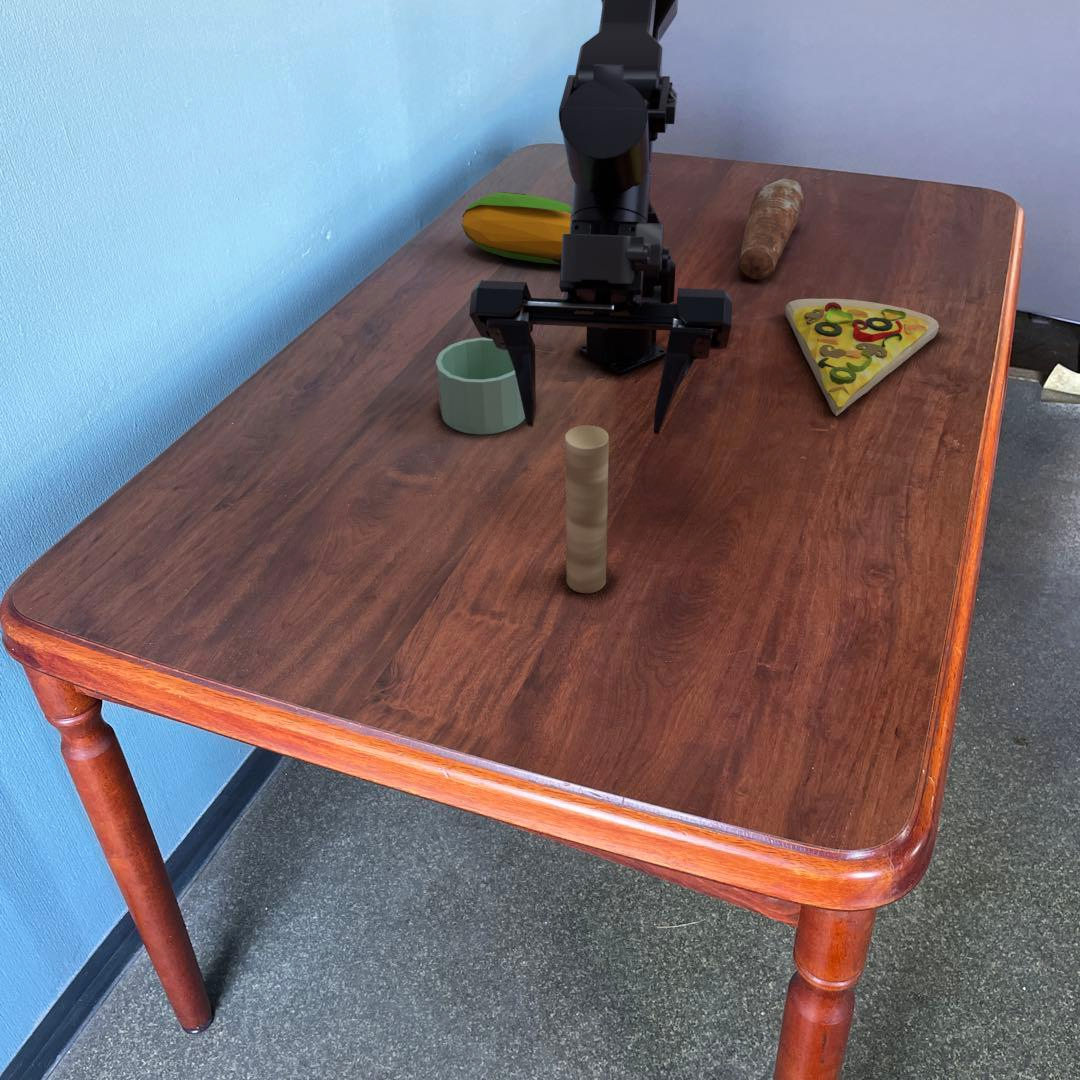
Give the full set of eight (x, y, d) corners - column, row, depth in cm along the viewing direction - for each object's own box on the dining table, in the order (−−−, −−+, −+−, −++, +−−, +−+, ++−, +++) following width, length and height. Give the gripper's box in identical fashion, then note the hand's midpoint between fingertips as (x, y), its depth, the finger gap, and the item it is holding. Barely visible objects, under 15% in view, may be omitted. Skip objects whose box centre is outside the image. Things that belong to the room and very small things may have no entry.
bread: (803, 223, 134) (809, 179, 131) (775, 287, 120) (781, 240, 117) (753, 217, 136) (757, 173, 132) (719, 280, 122) (724, 233, 118)
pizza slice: (937, 328, 112) (943, 302, 110) (921, 431, 96) (928, 403, 95) (787, 308, 116) (791, 282, 114) (750, 404, 101) (753, 376, 99)
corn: (475, 173, 129) (633, 195, 122) (481, 233, 134) (632, 256, 127) (447, 199, 124) (609, 223, 117) (454, 260, 129) (610, 286, 122)
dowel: (589, 563, 83) (590, 419, 75) (614, 582, 81) (617, 438, 73) (558, 578, 82) (556, 434, 74) (583, 599, 80) (583, 453, 72)
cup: (495, 379, 105) (492, 329, 102) (545, 414, 100) (544, 362, 97) (424, 407, 102) (419, 356, 98) (473, 444, 97) (469, 391, 93)
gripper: (465, 170, 73) (444, 394, 71) (744, 177, 71) (729, 409, 69) (491, 236, 84) (473, 431, 82) (733, 244, 82) (720, 445, 80)
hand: (592, 429), depth 78 cm, fingers open, 9 cm apart
